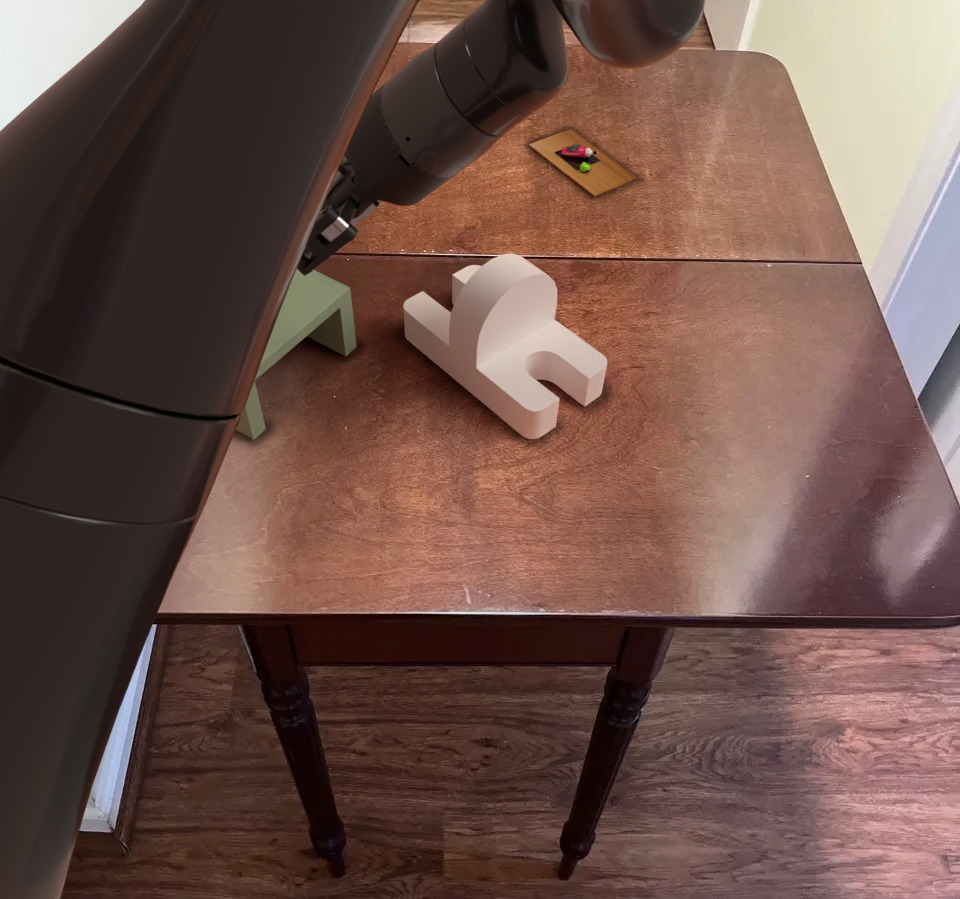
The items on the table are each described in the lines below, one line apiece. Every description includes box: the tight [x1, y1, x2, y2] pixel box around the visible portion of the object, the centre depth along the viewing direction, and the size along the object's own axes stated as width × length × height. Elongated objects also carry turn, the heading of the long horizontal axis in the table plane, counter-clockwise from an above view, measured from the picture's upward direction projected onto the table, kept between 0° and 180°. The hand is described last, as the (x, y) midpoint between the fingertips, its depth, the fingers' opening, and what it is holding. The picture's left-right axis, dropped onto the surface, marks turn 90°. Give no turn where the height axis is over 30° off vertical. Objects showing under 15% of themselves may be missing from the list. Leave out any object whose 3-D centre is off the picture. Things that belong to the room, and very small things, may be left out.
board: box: [528, 128, 637, 197], centre depth 105 cm, size 6×12×2 cm, turn 35°
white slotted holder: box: [402, 252, 608, 440], centre depth 81 cm, size 10×18×11 cm, turn 42°
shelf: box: [236, 269, 357, 441], centre depth 80 cm, size 14×16×10 cm
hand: (289, 235), depth 72 cm, fingers open, 8 cm apart
